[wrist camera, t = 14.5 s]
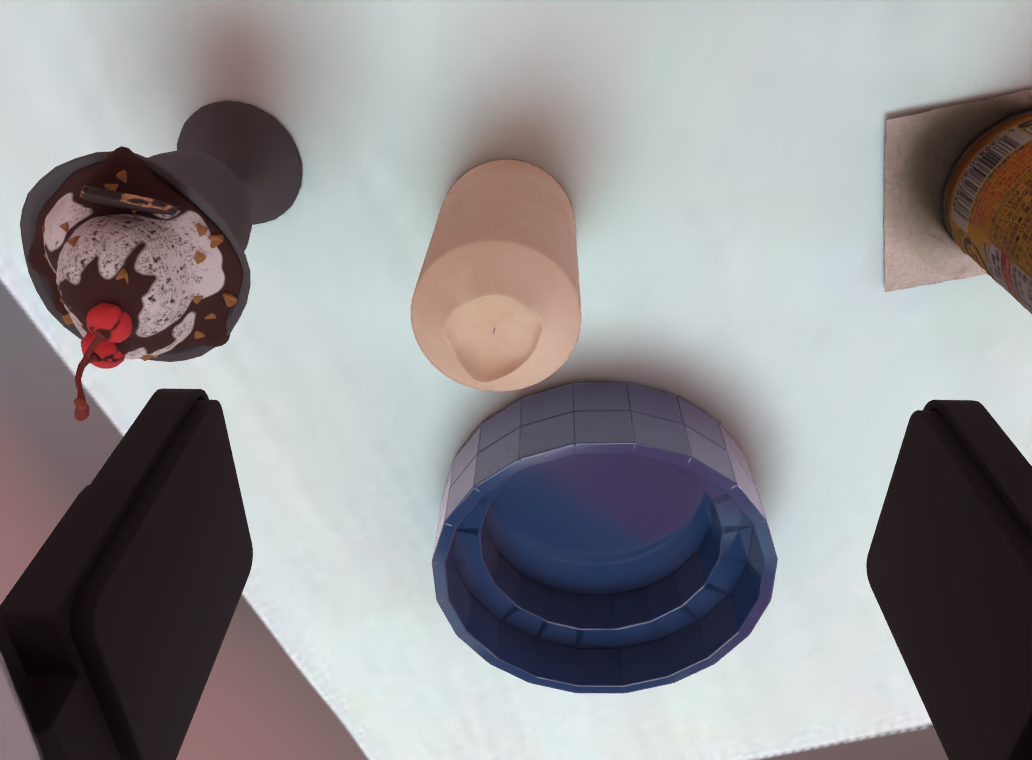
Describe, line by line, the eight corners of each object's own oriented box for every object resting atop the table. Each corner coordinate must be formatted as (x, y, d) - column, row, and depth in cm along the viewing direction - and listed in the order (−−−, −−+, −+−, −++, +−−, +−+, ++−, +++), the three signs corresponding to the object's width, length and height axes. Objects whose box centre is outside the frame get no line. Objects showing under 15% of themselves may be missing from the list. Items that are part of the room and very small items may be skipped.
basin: (390, 535, 44) (372, 608, 39) (560, 319, 37) (562, 379, 32) (625, 655, 48) (633, 733, 43) (819, 479, 41) (850, 551, 36)
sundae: (245, 273, 36) (78, 496, 23) (122, 147, 33) (-145, 320, 21) (359, 183, 34) (243, 375, 21) (236, 40, 31) (16, 161, 18)
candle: (543, 303, 36) (541, 437, 28) (422, 258, 35) (381, 382, 27) (597, 188, 34) (612, 297, 25) (467, 135, 33) (437, 231, 24)
